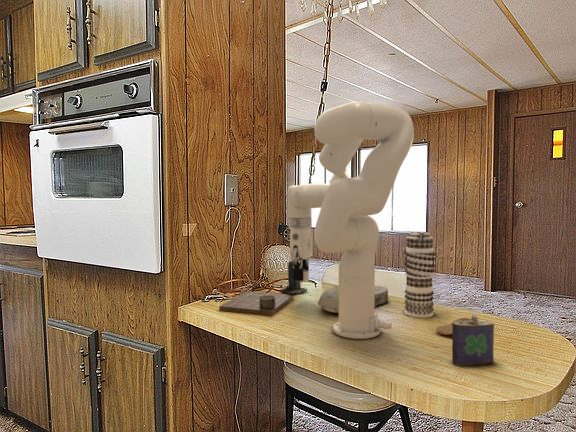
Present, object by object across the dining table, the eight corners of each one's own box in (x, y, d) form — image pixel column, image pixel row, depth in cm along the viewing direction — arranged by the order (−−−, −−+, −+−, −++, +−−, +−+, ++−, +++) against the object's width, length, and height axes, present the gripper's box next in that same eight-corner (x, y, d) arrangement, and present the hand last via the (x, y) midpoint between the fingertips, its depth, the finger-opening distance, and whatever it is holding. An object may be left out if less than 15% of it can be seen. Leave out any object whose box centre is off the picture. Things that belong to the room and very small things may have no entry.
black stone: (277, 305, 132) (277, 296, 131) (271, 309, 127) (271, 300, 127) (263, 303, 133) (263, 294, 133) (256, 308, 129) (256, 298, 128)
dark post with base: (294, 296, 149) (293, 263, 148) (279, 292, 154) (278, 260, 153) (310, 291, 155) (310, 260, 154) (295, 288, 160) (295, 257, 160)
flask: (489, 359, 92) (490, 312, 91) (497, 365, 89) (498, 316, 89) (449, 361, 91) (450, 314, 91) (456, 367, 88) (456, 318, 88)
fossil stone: (339, 319, 122) (339, 301, 121) (305, 308, 133) (305, 292, 132) (395, 301, 140) (395, 286, 140) (361, 293, 151) (361, 279, 151)
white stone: (310, 278, 136) (310, 269, 136) (306, 281, 132) (306, 272, 131) (296, 278, 138) (296, 269, 138) (291, 280, 133) (291, 271, 133)
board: (293, 299, 144) (293, 295, 144) (271, 316, 125) (271, 311, 125) (246, 295, 150) (246, 291, 150) (219, 310, 132) (219, 305, 132)
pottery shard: (480, 347, 102) (484, 326, 111) (479, 332, 101) (483, 312, 109) (435, 342, 108) (442, 322, 116) (433, 327, 107) (441, 308, 115)
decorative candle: (419, 319, 120) (420, 234, 119) (396, 311, 129) (397, 231, 127) (441, 315, 125) (442, 232, 123) (418, 307, 133) (419, 230, 131)
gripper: (302, 225, 125) (304, 284, 125) (318, 221, 141) (319, 274, 141) (279, 225, 127) (281, 283, 128) (297, 221, 143) (298, 273, 144)
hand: (301, 278), depth 135 cm, fingers closed on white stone, 5 cm apart
